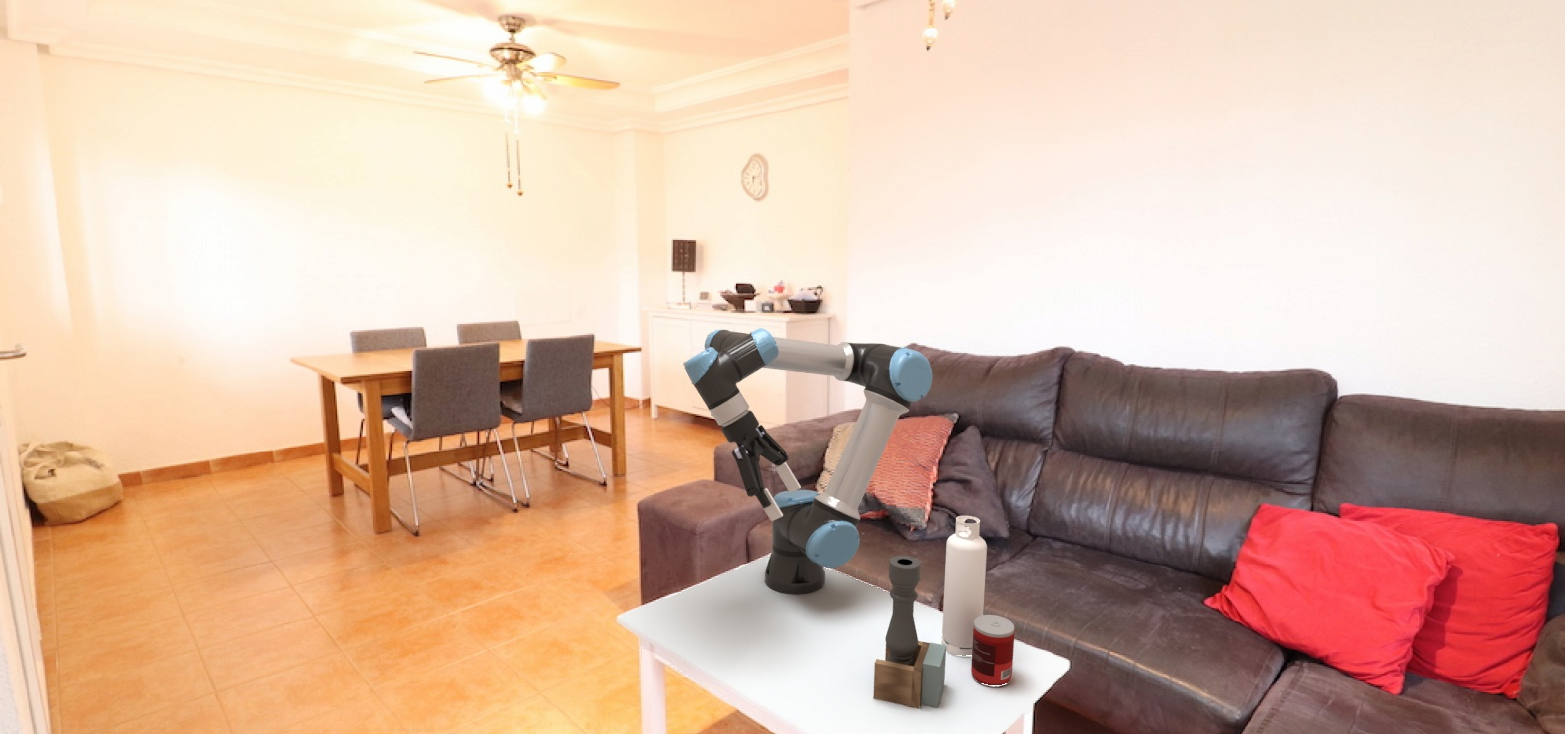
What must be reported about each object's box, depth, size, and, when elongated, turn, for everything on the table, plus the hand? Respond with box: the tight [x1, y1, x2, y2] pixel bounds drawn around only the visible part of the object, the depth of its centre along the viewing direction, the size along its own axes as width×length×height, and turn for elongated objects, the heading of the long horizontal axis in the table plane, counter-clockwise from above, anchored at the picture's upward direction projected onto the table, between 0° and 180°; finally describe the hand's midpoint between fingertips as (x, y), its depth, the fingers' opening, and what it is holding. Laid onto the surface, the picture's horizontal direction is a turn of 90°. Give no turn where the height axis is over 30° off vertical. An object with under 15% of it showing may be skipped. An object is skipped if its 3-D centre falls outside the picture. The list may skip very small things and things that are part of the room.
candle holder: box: [884, 555, 921, 667], centre depth 138 cm, size 6×6×25 cm
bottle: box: [941, 515, 988, 656], centre depth 153 cm, size 8×8×28 cm
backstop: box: [921, 642, 947, 709], centre depth 137 cm, size 3×8×8 cm, turn 159°
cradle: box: [872, 640, 930, 709], centre depth 139 cm, size 8×11×7 cm
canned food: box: [970, 614, 1016, 685], centre depth 143 cm, size 8×8×11 cm
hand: (786, 503), depth 155 cm, fingers open, 13 cm apart
